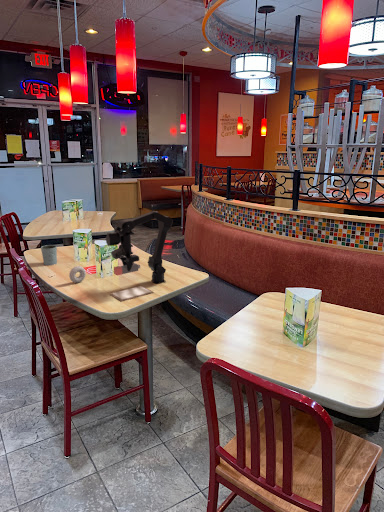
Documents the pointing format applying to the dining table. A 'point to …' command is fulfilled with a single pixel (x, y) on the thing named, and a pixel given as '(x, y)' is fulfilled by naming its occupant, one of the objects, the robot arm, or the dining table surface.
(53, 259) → the gray cup
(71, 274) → the donut
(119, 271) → the marker
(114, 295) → the picture frame
